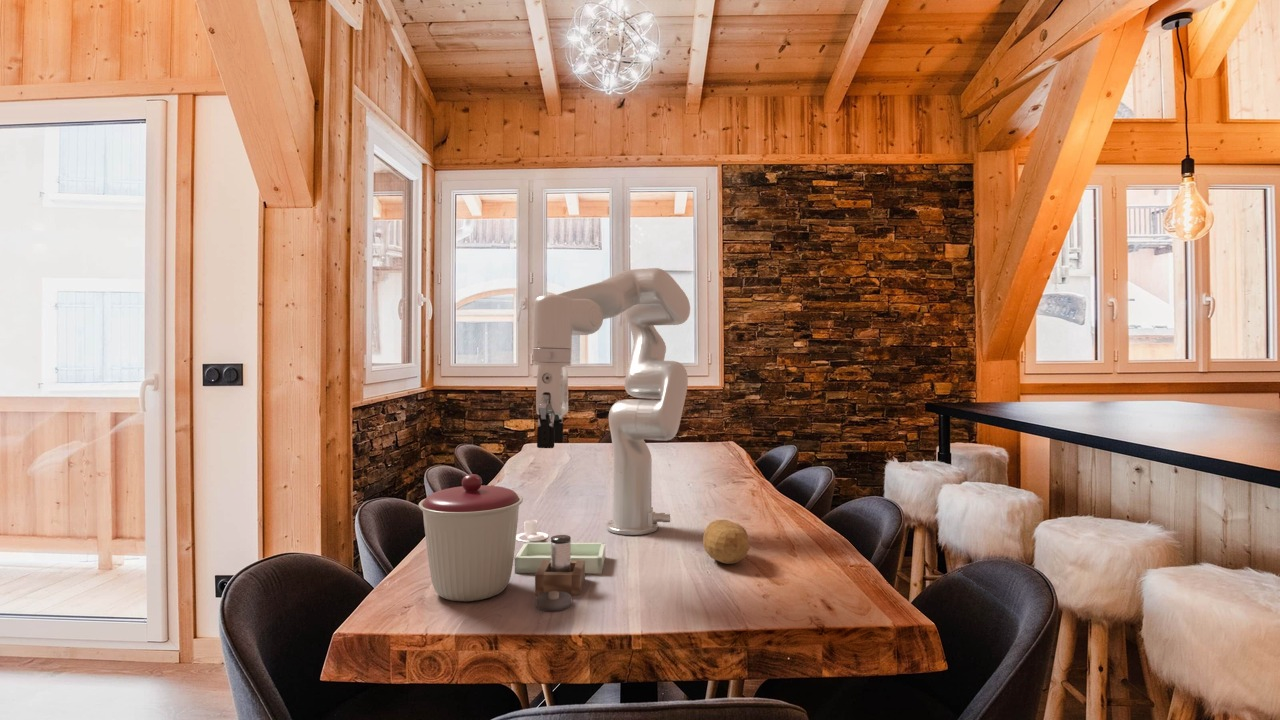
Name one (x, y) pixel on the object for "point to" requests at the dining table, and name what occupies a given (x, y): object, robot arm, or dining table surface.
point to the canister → (471, 539)
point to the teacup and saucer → (532, 532)
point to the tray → (537, 552)
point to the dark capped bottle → (561, 553)
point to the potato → (726, 541)
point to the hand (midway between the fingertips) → (550, 445)
